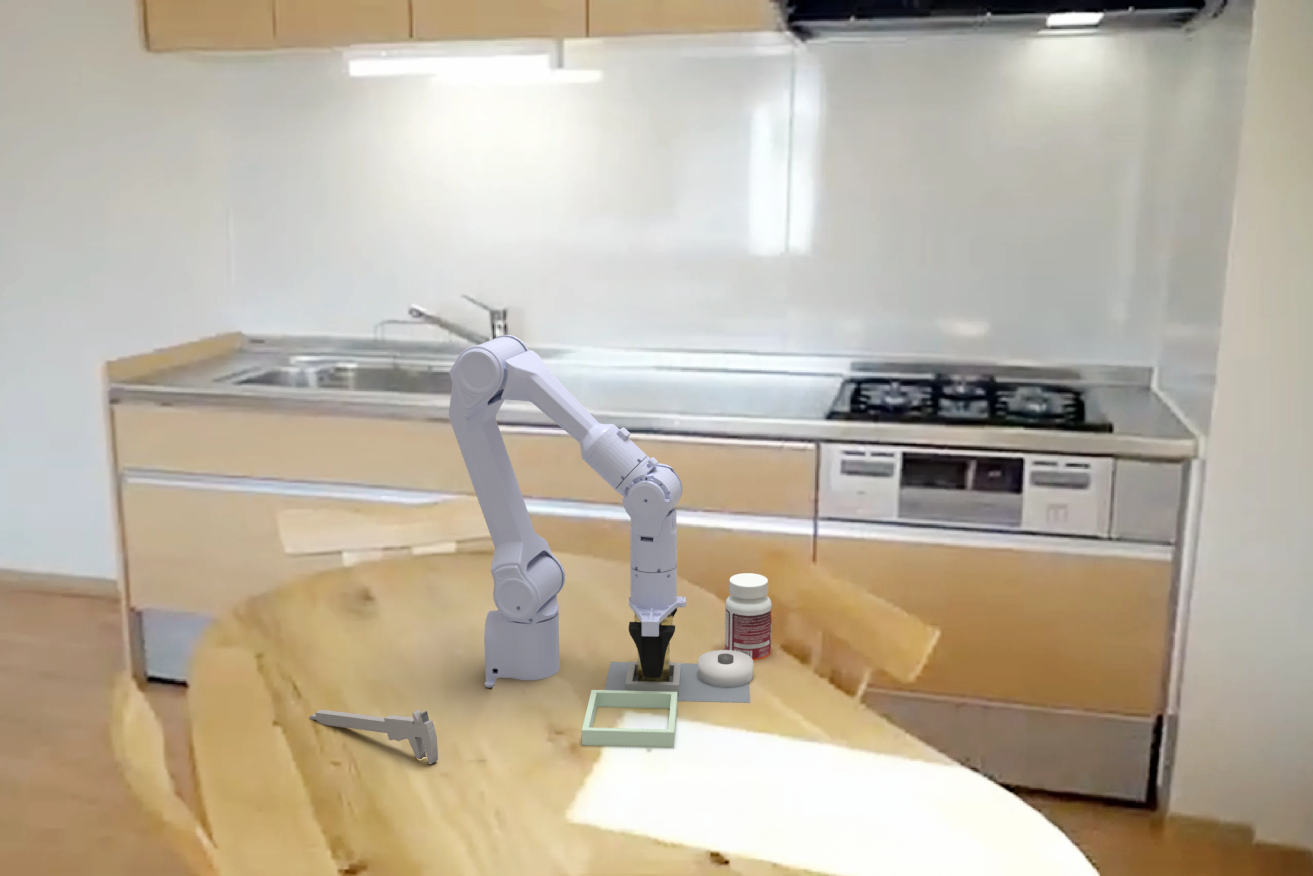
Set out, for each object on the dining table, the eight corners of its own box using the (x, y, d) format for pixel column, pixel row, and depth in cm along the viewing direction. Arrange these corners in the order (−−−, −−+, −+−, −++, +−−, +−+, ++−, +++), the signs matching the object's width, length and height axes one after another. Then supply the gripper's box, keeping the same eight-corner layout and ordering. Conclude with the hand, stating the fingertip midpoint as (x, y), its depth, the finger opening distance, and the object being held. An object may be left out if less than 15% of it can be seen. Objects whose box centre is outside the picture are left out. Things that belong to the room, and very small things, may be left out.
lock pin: (633, 692, 152) (632, 624, 150) (635, 675, 157) (635, 609, 155) (671, 693, 152) (672, 625, 150) (673, 676, 157) (673, 610, 154)
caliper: (438, 764, 138) (436, 713, 136) (431, 768, 137) (429, 716, 135) (315, 717, 149) (312, 669, 147) (308, 720, 148) (305, 672, 147)
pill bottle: (780, 661, 164) (782, 581, 161) (743, 672, 161) (744, 591, 158) (751, 646, 169) (753, 568, 166) (715, 656, 166) (716, 577, 163)
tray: (582, 754, 139) (581, 730, 139) (591, 712, 149) (591, 689, 149) (673, 756, 139) (673, 732, 138) (677, 714, 149) (677, 691, 148)
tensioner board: (602, 708, 151) (602, 679, 150) (610, 670, 161) (610, 643, 160) (754, 711, 150) (754, 682, 149) (752, 673, 160) (752, 646, 159)
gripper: (684, 586, 143) (683, 694, 147) (687, 546, 157) (687, 645, 161) (623, 585, 144) (624, 692, 147) (633, 545, 158) (633, 644, 161)
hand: (653, 668), depth 154 cm, fingers closed on lock pin, 4 cm apart
